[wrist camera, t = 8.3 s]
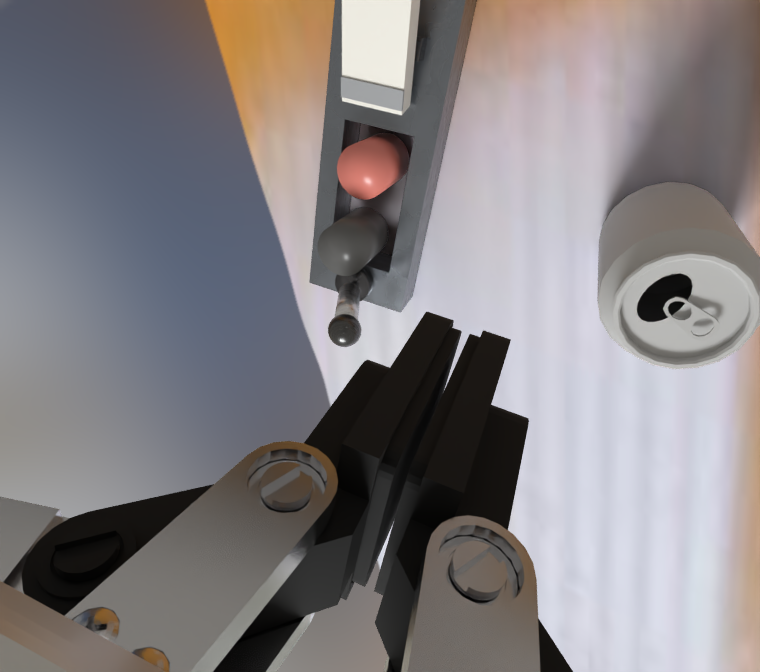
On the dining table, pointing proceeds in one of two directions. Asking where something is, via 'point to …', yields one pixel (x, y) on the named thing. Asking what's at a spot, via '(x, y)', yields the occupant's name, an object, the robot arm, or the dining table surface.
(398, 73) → the block
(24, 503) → the robot arm
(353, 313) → the toggle
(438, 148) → the panel
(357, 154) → the button
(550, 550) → the dining table surface
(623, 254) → the can
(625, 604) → the dining table surface
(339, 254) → the button
